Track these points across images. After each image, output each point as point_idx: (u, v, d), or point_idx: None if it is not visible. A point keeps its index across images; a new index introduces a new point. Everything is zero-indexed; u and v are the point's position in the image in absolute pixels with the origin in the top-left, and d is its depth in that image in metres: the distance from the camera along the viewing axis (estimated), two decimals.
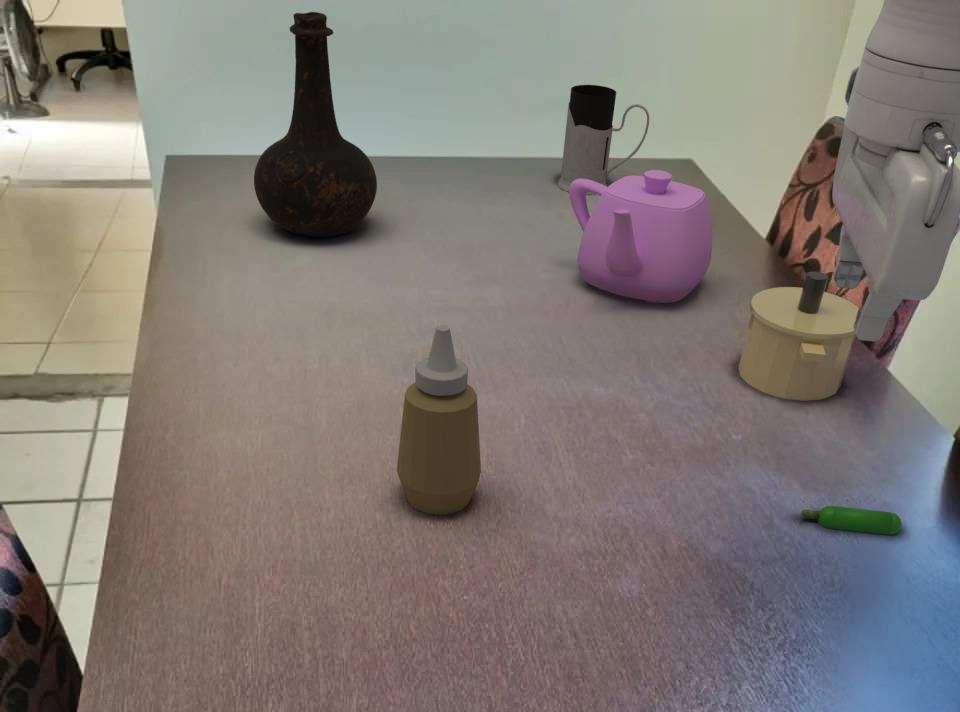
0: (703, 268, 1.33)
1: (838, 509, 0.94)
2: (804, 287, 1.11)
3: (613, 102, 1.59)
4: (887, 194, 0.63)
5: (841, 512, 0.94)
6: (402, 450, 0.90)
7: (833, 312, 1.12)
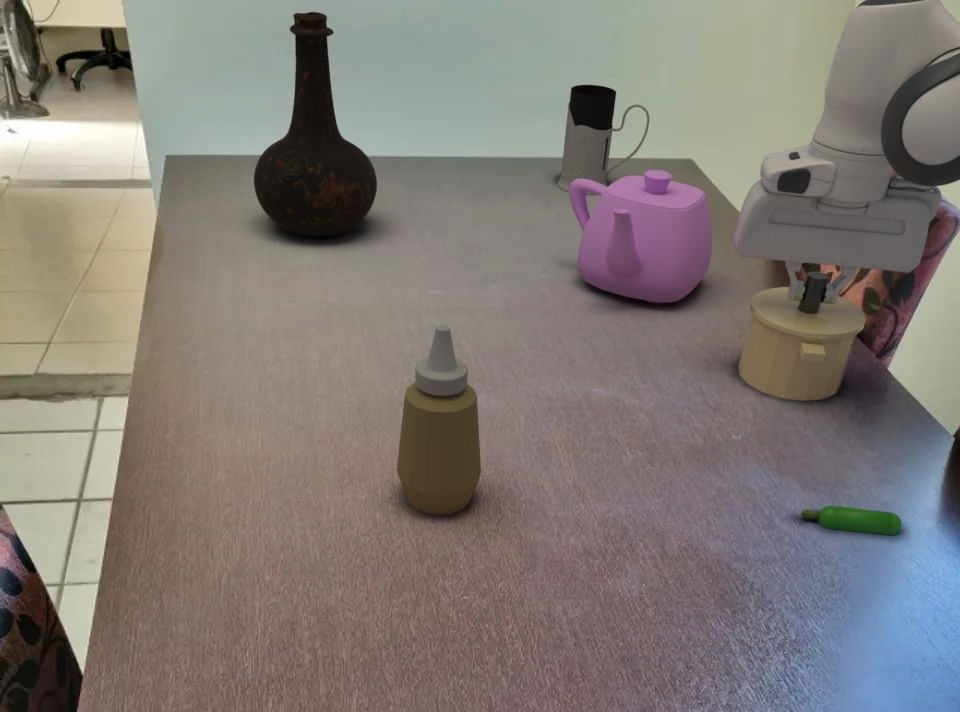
0: (703, 268, 1.33)
1: (838, 509, 0.94)
2: None
3: (613, 102, 1.59)
4: (880, 223, 1.04)
5: (841, 512, 0.94)
6: (402, 450, 0.90)
7: (833, 312, 1.12)
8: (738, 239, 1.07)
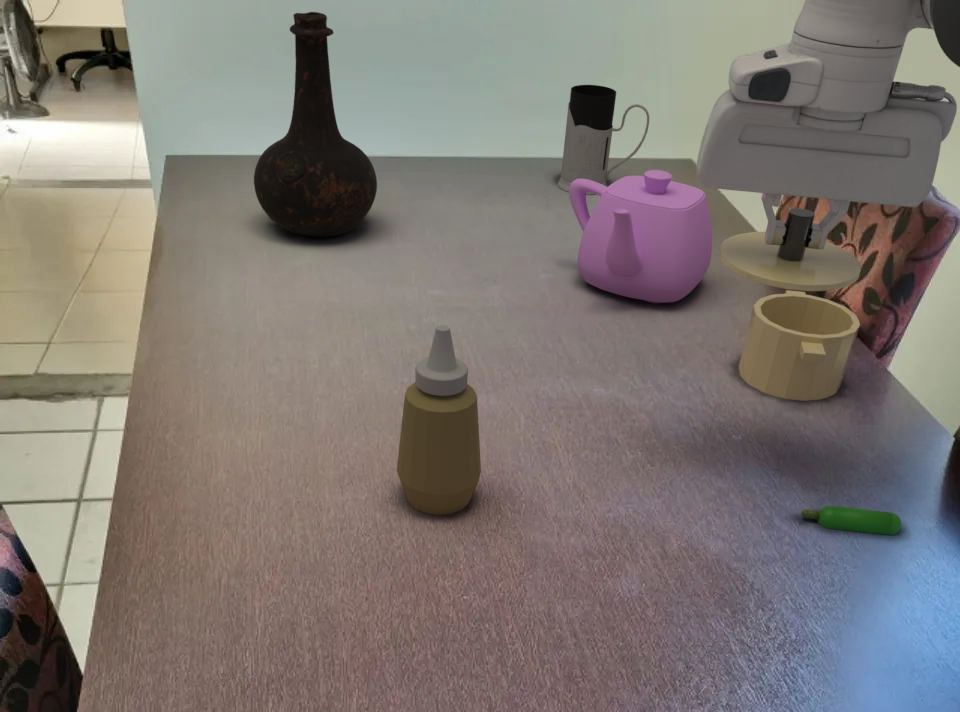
0: (703, 268, 1.33)
1: (838, 509, 0.94)
2: None
3: (613, 102, 1.59)
4: (879, 143, 0.82)
5: (841, 512, 0.94)
6: (402, 450, 0.90)
7: (821, 260, 0.91)
8: (701, 164, 0.85)
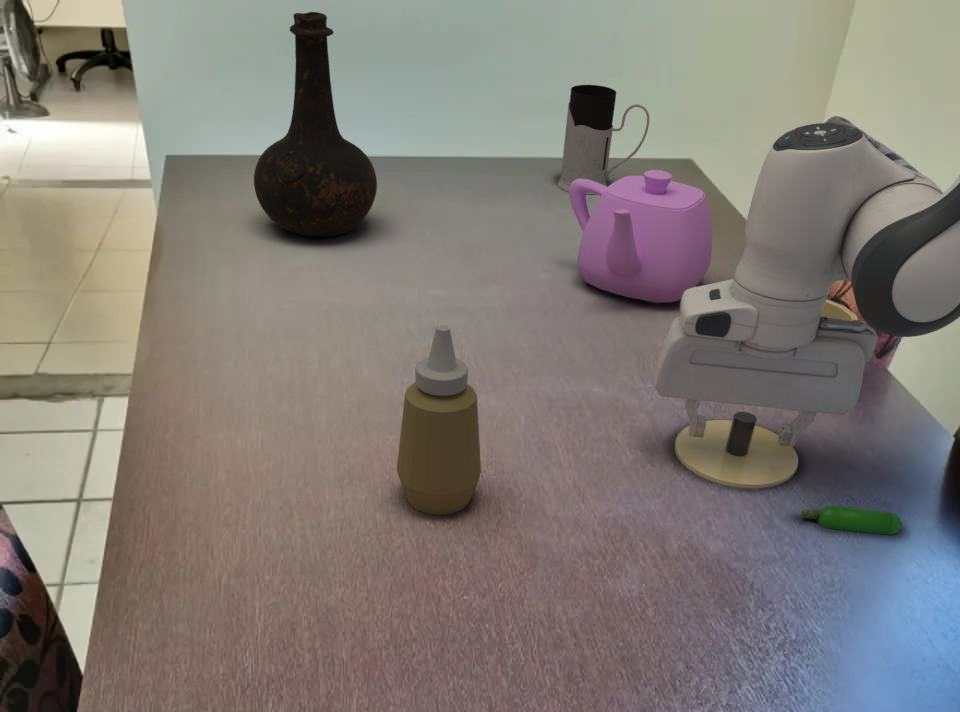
0: (703, 268, 1.33)
1: (838, 509, 0.94)
2: (731, 429, 1.02)
3: (613, 102, 1.59)
4: (810, 365, 0.95)
5: (841, 512, 0.94)
6: (402, 450, 0.90)
7: (764, 454, 1.03)
8: (657, 379, 0.97)
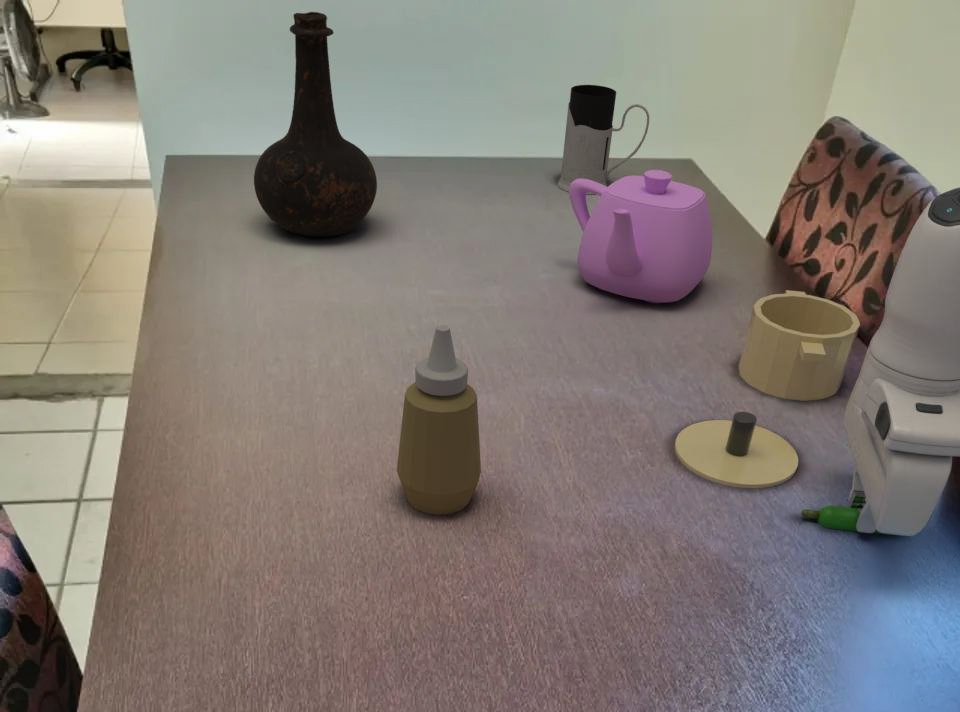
0: (703, 268, 1.33)
1: (838, 509, 0.94)
2: (731, 429, 1.02)
3: (613, 102, 1.59)
4: None
5: (841, 512, 0.94)
6: (402, 450, 0.90)
7: (764, 454, 1.03)
8: (926, 522, 0.83)
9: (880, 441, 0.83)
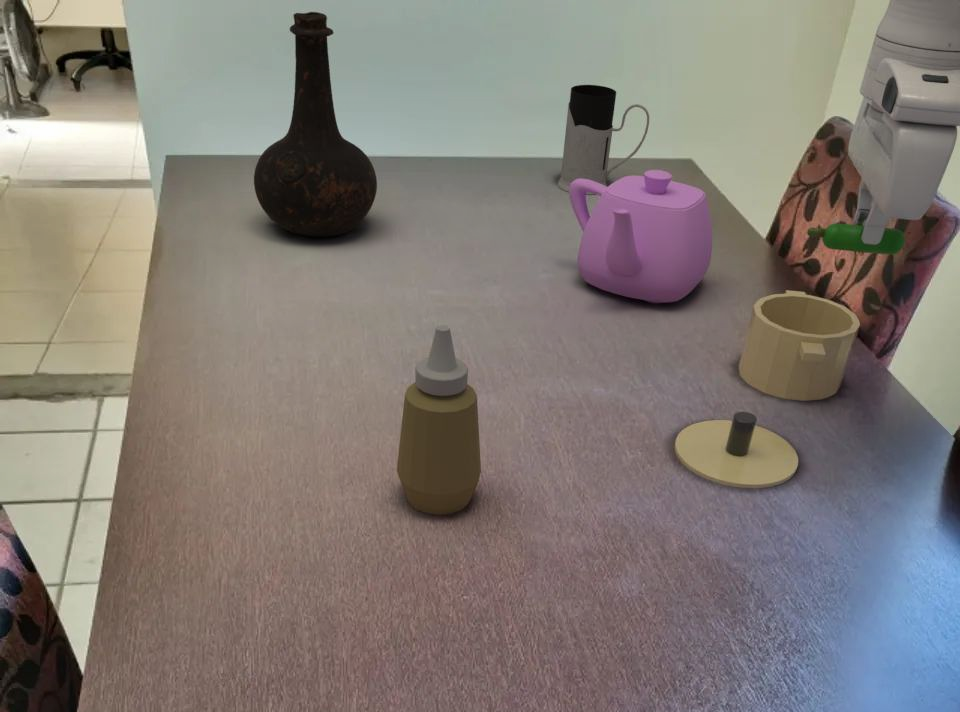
0: (703, 268, 1.33)
1: (843, 225, 0.96)
2: (731, 429, 1.02)
3: (613, 102, 1.59)
4: None
5: (846, 227, 0.96)
6: (402, 450, 0.90)
7: (764, 454, 1.03)
8: (931, 200, 0.84)
9: (887, 121, 0.85)
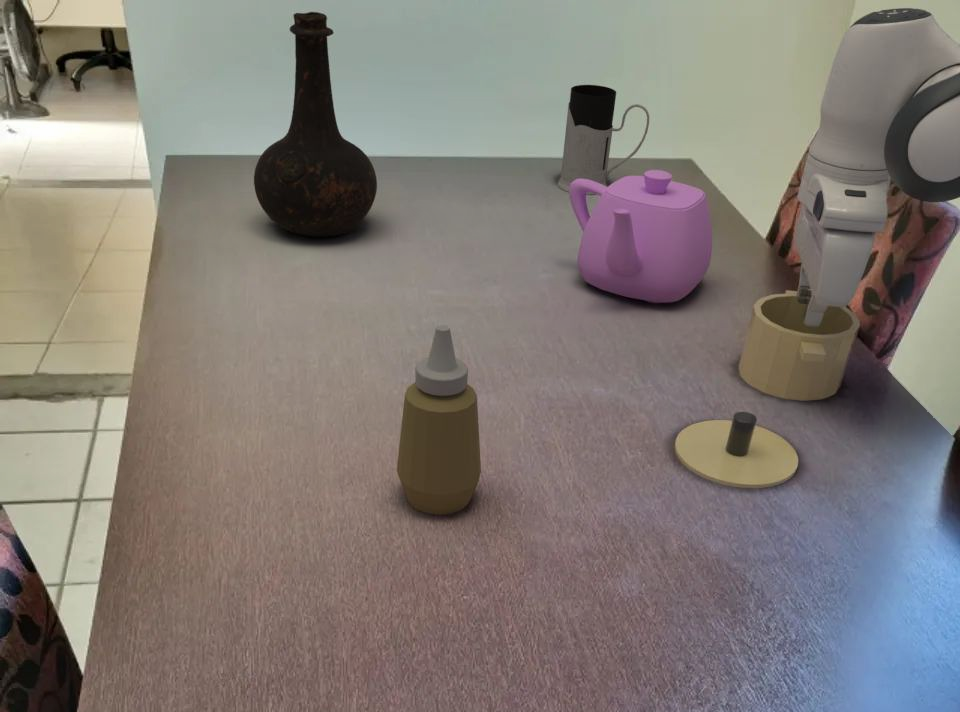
0: (703, 268, 1.33)
1: None
2: (731, 429, 1.02)
3: (613, 102, 1.59)
4: None
5: None
6: (402, 450, 0.90)
7: (764, 454, 1.03)
8: (854, 292, 1.01)
9: (817, 226, 1.01)
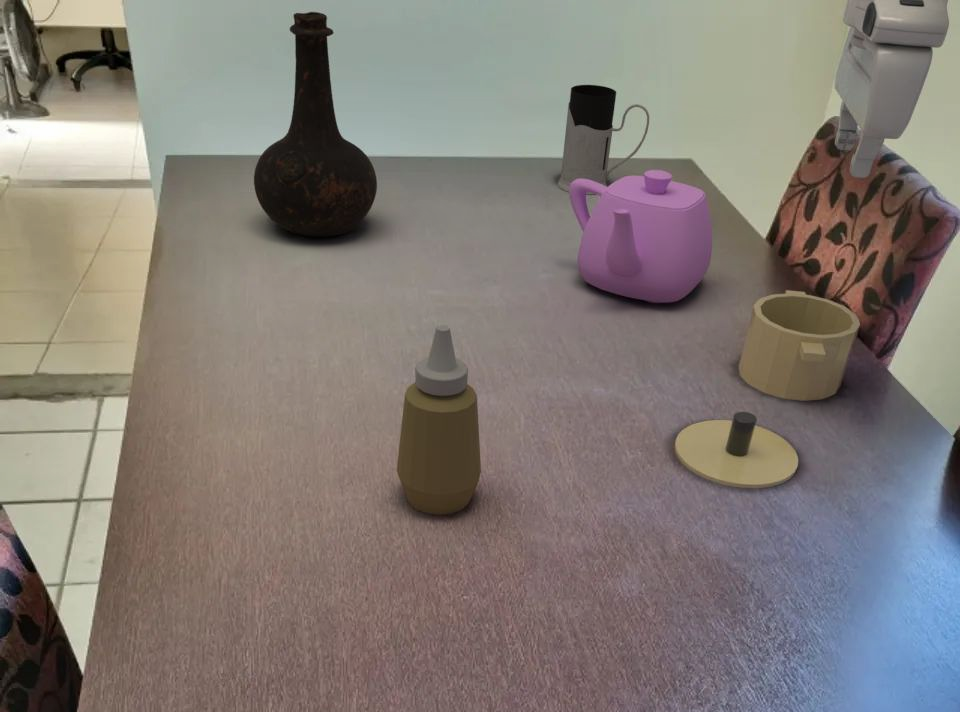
0: (703, 268, 1.33)
1: None
2: (731, 429, 1.02)
3: (613, 102, 1.59)
4: None
5: None
6: (402, 450, 0.90)
7: (764, 454, 1.03)
8: (909, 119, 0.90)
9: (867, 45, 0.90)
